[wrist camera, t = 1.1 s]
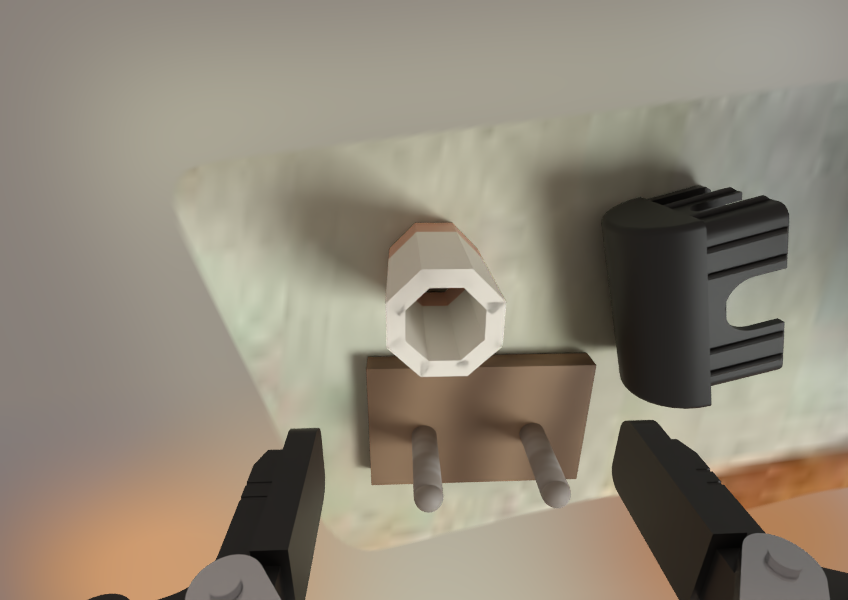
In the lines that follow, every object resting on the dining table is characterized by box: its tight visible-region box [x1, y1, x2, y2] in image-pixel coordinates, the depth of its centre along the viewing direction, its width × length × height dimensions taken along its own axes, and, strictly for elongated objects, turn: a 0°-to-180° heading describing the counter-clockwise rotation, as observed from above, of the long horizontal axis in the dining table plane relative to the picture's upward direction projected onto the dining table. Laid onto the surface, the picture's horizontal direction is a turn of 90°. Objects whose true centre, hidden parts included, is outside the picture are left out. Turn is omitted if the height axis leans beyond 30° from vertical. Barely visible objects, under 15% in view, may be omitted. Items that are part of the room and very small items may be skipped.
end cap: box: [602, 186, 789, 409], centre depth 25 cm, size 10×7×7 cm
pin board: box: [366, 353, 596, 512], centre depth 28 cm, size 14×9×7 cm, turn 90°
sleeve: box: [385, 223, 507, 377], centre depth 23 cm, size 5×5×8 cm
